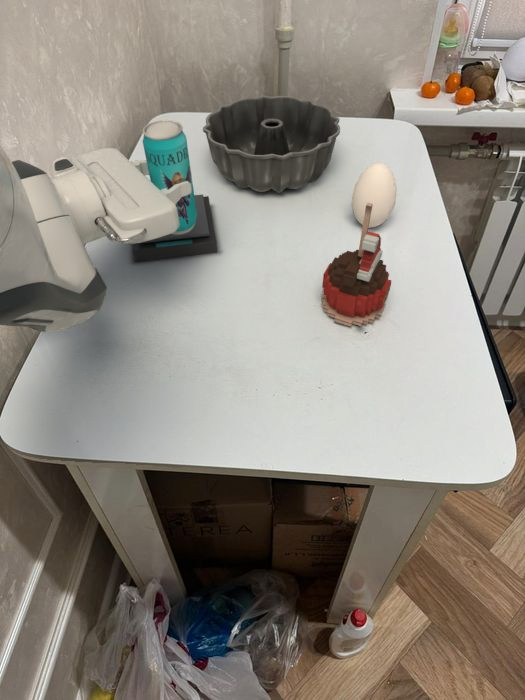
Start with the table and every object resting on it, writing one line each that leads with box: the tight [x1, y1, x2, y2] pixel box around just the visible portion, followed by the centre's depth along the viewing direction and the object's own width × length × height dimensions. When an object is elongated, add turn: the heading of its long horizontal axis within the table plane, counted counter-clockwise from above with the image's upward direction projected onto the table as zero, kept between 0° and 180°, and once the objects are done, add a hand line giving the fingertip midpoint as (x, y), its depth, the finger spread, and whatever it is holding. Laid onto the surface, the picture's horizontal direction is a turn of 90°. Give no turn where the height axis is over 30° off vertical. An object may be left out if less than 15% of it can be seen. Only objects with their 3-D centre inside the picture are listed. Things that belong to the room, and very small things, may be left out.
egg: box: [351, 162, 397, 228], centre depth 86 cm, size 7×7×12 cm
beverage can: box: [142, 119, 197, 235], centre depth 71 cm, size 6×6×15 cm
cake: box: [320, 203, 392, 327], centre depth 70 cm, size 11×9×18 cm
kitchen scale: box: [131, 194, 218, 263], centre depth 89 cm, size 14×14×4 cm
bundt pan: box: [202, 95, 341, 194], centre depth 100 cm, size 26×26×10 cm
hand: (176, 174), depth 70 cm, fingers closed on beverage can, 6 cm apart
